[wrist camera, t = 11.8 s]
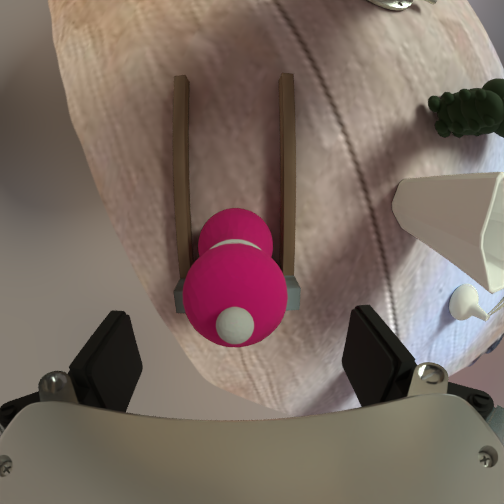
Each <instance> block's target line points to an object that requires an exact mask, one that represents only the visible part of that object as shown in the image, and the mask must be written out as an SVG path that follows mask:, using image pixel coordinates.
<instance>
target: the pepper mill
mask: <svg viewBox="0 0 504 504" xmlns="http://www.w3.org/2000/svg"><path fill="white" fill-rule="evenodd" d="M198 252H199V256H200V257H199V258H198V259H197V260H196V261H195V262H194V263H193V265H192V266H191V268H190V270H189V271H188V273H187V276H186V279H185V282H184V286H183V305H184V309H185V312H186V315H187V317H188V319H189V321H190V323H191V324H192V326H193V327H194V328H195V329H196V330H197V331H198V332H199V333H200V334H201V335H202V336H204V337H205V338H206V339H208V340H210V341H212V342H214V343H216V344H218V345H222V346H226V347H243V346H249V345H252V344H255V343H257V342H260V341H262V340H263V339H264V338H266V337H267V336H269V335H270V334H271V333H272V332H273V331H274V330H275V329H276V328H277V326H278V325H279V324H280V322H281V320H282V318H283V316H284V313H285V311H286V307H287V300H288V295H287V286H286V281H285V278H284V275H283V273H282V271H281V269H280V268H279V266H278V265H277V263H276V262H275V261H274V260H273V259H272V258H271V257H272V252H273V240H272V236H271V232H270V230H269V228H268V226H267V225H266V223H265V222H264V221H263V220H262V219H261V218H260V217H259V216H258V215H256V214H255V213H253V212H251V211H248V210H245V209H240V208H231V209H226V210H223V211H220V212H218V213H216V214H215V215H213V216H212V217H211V218H210V219H209V220H208V221H207V222H206V223H205V225H204V227H203V229H202V230H201V233H200V237H199V242H198Z"/></svg>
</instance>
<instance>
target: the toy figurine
mask: <svg viewBox="0 0 504 504" xmlns="http://www.w3.org/2000/svg"><path fill="white" fill-rule="evenodd" d="M428 106H429V109H430V110H431V111H433V112H437V115H438V118H439V120H438V121H436V123H435V128H436V130H437V132H438V134H439V135H440V136H442V137H444V138H446V137H448V136H449V135H450V133H451V132H452V134H453V135H454V136H456V137H458V138H460V137H462V136H463V135H475V136H479V135H481V134H490V133H493V132H495V133H496V134H498V135H499V136H501V137H503V138H504V79H492V80H490V81H488V82H487V83H486V84H484V86H483V87H482V89H480V88H473V89H470V90H467V89H462V90H460V91H459V92H457V93H454V94H451V93H450V92H445V93H444V94H443V95H442V96H441V99H440V98H439V97H437V96H431V97H430V98H429V99H428Z"/></svg>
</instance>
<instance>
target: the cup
mask: <svg viewBox="0 0 504 504" xmlns="http://www.w3.org/2000/svg"><path fill="white" fill-rule="evenodd" d="M392 211H393V213H394V215H395V217H396V219H397V221H398V222H399V224H400V226H401V228H402V229H404V230H405V231H407V232H408V233H410V234H411V235H413V236H414V237H416V238H417V239H419V240H420V241H422V242H423V243H425V244H426V245H428V246H429V247H430V248H432V249H433V250H435V251H436V252H438V253H439V254H440V255H442V256H443V257H445V258H446V259H447V260H449V261H450V262H451V263H453V264H454V265H455V266H457V267H458V268H459V269H461V270H462V271H463V272H465V273H466V274H467V275H469V276H470V277H471V278H472V279H474V280H475V281H476V282H477V283H479V284H480V285H481V286H482V287H484V288H485V289H486V290H487V291H488V292H490V293H491V294H493V293H495V292H497V291H499V290H501V289H503V288H504V172H491V173H471V174H456V175H443V176H431V177H420V178H410V179H404V180H402V181H401V182H400V183H399V185H398V188H397V191H396V194H395V196H394V199H393V201H392Z"/></svg>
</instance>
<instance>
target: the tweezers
mask: <svg viewBox="0 0 504 504" xmlns="http://www.w3.org/2000/svg"><path fill="white" fill-rule="evenodd" d="M503 301H504V297H503V298H502V300H501V301H500V302H499V303H498V304H497V305H496V306H495V307H494V308H493V309H492V310H491V311H490V312H489V313H491V312H492V311H493V310H494V309H495V308H497V307H498V306H499V305H500V304H501V303H502V302H503ZM502 307H504V303H503V304H502V305H501V306H500V307H498V308H497V309H496V310H494V311H493V312H492V313H491V314H490V315H492V314H493V313H495V312H496V311H498V310H499V309H501V308H502ZM489 313H488V314H489ZM490 315H489V316H490Z"/></svg>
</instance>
